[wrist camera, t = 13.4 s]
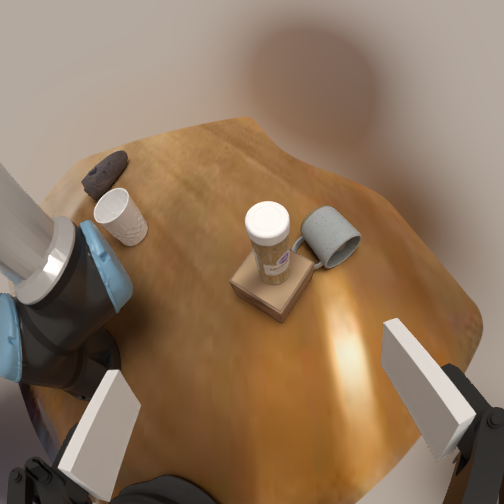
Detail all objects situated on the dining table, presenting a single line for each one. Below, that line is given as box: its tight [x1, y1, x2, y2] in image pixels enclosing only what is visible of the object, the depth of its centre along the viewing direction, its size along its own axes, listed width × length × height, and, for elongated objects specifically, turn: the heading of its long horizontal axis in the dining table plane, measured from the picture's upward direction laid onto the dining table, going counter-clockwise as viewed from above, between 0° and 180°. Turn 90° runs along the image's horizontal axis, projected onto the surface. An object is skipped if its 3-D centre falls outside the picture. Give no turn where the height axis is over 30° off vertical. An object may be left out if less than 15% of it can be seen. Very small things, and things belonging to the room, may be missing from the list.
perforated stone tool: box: [81, 151, 128, 199], centre depth 60 cm, size 15×5×7 cm, turn 148°
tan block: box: [229, 249, 315, 323], centre depth 42 cm, size 9×9×6 cm
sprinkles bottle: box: [245, 201, 290, 284], centre depth 34 cm, size 5×5×14 cm
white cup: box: [94, 188, 148, 246], centre depth 50 cm, size 8×8×10 cm
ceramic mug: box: [292, 205, 361, 270], centre depth 44 cm, size 11×8×8 cm
